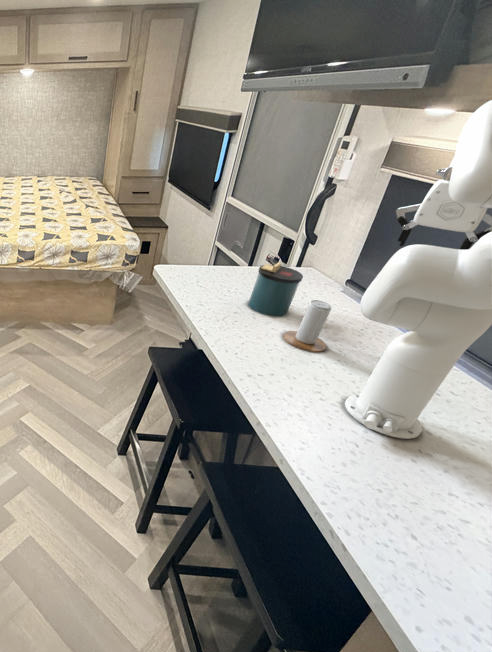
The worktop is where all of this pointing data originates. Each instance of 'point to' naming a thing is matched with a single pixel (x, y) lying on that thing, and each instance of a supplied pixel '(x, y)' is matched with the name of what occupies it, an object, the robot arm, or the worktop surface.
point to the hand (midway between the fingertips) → (428, 250)
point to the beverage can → (313, 322)
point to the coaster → (292, 340)
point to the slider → (272, 267)
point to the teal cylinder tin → (274, 291)
